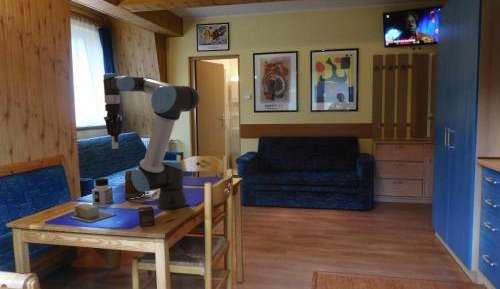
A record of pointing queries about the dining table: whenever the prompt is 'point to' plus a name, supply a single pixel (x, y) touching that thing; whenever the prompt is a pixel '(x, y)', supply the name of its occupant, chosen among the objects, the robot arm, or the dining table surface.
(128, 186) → the mug
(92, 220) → the mat
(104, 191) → the container
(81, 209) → the skincare box
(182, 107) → the robot arm
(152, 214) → the box
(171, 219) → the dining table surface
